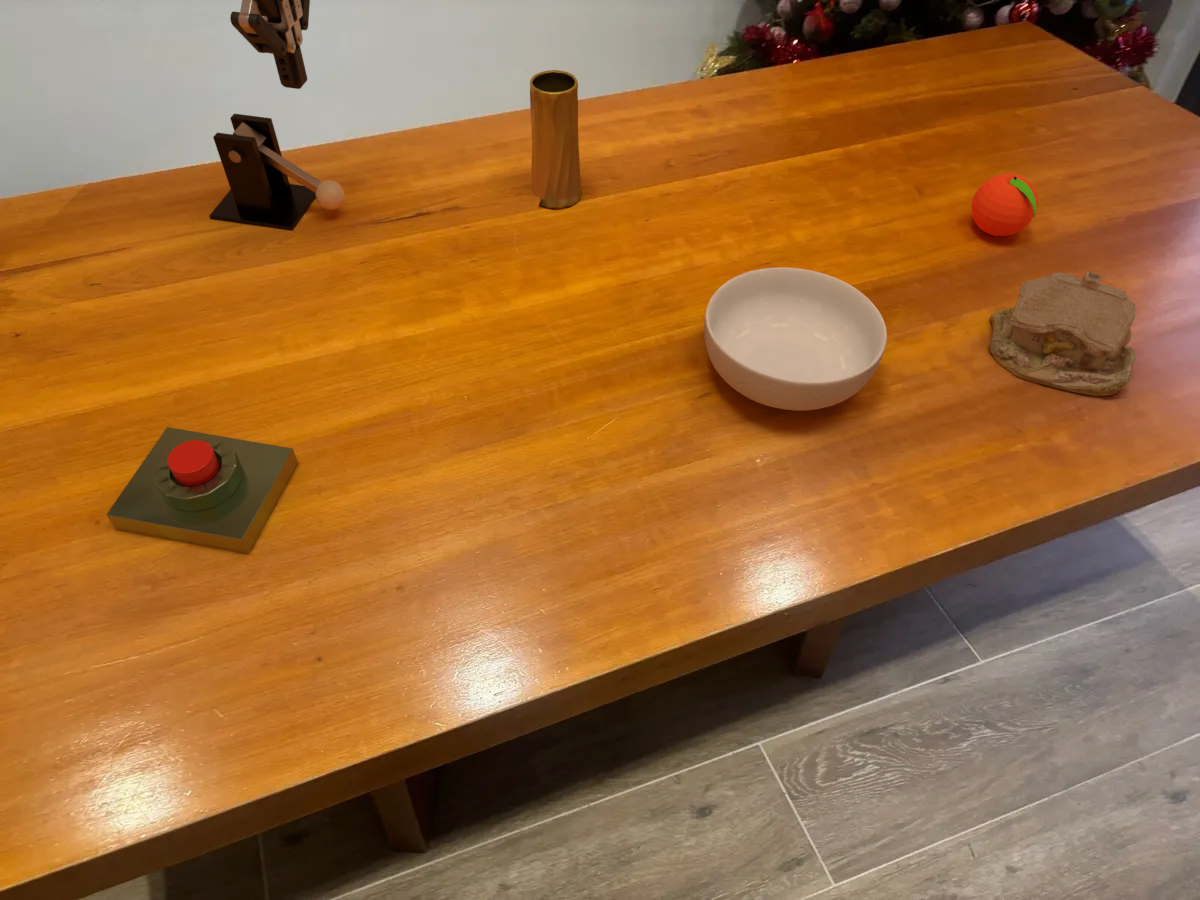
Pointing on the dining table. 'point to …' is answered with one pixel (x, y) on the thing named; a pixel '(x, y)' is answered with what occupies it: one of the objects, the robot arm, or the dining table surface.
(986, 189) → the clementine
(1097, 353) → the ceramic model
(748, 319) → the cereal bowl
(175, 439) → the button box
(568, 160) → the vase
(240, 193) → the bracket
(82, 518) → the dining table surface
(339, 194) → the lever
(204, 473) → the button
